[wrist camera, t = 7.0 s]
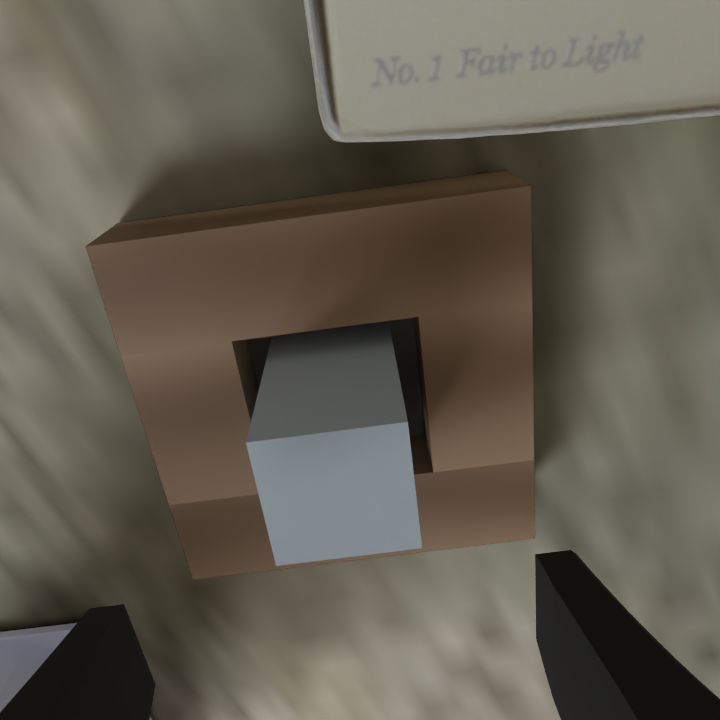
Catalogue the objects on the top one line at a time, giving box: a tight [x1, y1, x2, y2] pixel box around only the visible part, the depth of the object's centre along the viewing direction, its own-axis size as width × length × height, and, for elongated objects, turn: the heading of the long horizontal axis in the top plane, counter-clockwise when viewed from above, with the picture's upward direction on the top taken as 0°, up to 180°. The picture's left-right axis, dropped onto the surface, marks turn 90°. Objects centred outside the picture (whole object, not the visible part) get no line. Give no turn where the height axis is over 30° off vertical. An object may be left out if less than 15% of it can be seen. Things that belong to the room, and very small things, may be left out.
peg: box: [246, 321, 422, 566], centre depth 17 cm, size 4×4×6 cm
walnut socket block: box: [86, 170, 535, 580], centre depth 19 cm, size 11×11×2 cm
